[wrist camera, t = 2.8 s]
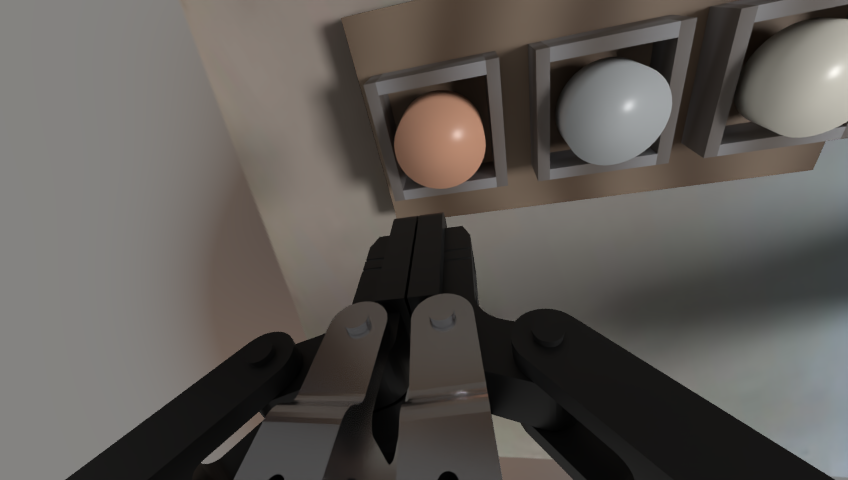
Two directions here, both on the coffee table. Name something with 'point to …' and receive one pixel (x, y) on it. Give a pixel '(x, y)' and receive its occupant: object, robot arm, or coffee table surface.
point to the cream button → (798, 79)
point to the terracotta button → (440, 140)
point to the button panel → (551, 70)
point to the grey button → (613, 110)
